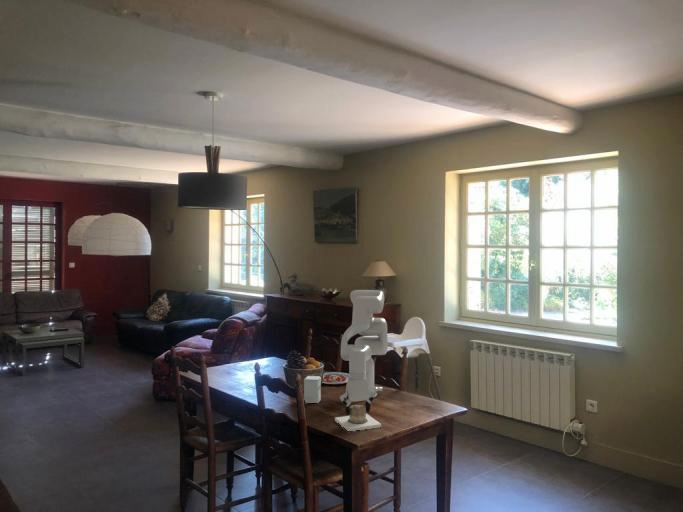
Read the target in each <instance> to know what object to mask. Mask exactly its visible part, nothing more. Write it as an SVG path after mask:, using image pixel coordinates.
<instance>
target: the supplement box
mask: <svg viewBox="0 0 683 512" xmlns="http://www.w3.org/2000/svg"><path fill="white" fill-rule="evenodd" d="M321 386H322V383H321V377H320V376H314V375H307V376H306V377H305V378H304V379H303V401H304V400H305V402H306V403H305V404H307V403H318V404H319V402H320V401H321V399H322V393H321V389H322V387H321Z"/></svg>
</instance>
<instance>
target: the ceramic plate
mask: <svg viewBox="0 0 683 512" xmlns="http://www.w3.org/2000/svg"><path fill="white" fill-rule="evenodd" d="M323 373H324V374H323V382H322V383H321V384H323V383H324V385H330V384H331V385H335V386H337V385H343V384H347V380H348V378H349V372H348V373H346V372H341V371H340V372H339V371H337V372H336V371H330V372H323Z"/></svg>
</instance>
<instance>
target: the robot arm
mask: <svg viewBox="0 0 683 512" xmlns="http://www.w3.org/2000/svg"><path fill="white" fill-rule="evenodd" d="M349 295H350V301H351V303H352V304H353V305H352V316H351V317H352V320H351V325H350V326H349V327H347V329H346V330H345V332H344V333H343V335H342V337H341V342H340V357H341V359H342V360H343V361H346V362H347V361H348V362H349V363H348V365H349V367H348V368H349V369H348V370H349V371H348V374H349V378H348V380H347V383H346V386H345V393H343V394H342V395H340V396H339V399H340V401H341V404H343V405H344V412H345V414H346V416H349V415H350V407H351V406H350V405H351V404H352V403H355V402H364V401H365V404H364V406H365V407H366V413H367V414H369V413H370V410H371V404H372V402H373V401H374V399H375V397H377V396H378V392H382V391H383V387H382V386H380V387H379V386H375V362H374V359H373V358H372V356H385V355H386V354H387V352H388V344H389V343H388V342H389V341H388V323H387V321H386V319H385V318H384V317H374V315H373V314H381V313H382V312H383V309H384V303H385V294H384V291H382V290H376V289H355V290H352V291H351V292H350V294H349ZM357 334H359V335H361V336H360V337H357V338H356V339H355V341H354V344H348V342H349V340H350V339H351V338H353V337H354V336H356V335H357ZM345 399H346V400H345Z"/></svg>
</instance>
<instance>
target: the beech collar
mask: <svg viewBox="0 0 683 512" xmlns="http://www.w3.org/2000/svg"><path fill="white" fill-rule="evenodd" d="M355 406H360V409H355ZM349 407H350V415H348V416H349V421H351V422H352V423H363V422H365V421H366V414H367V412H366V407H365V405H362V404H361V405H360V404H355V405H354V404H353V405H351V406H349Z"/></svg>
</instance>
